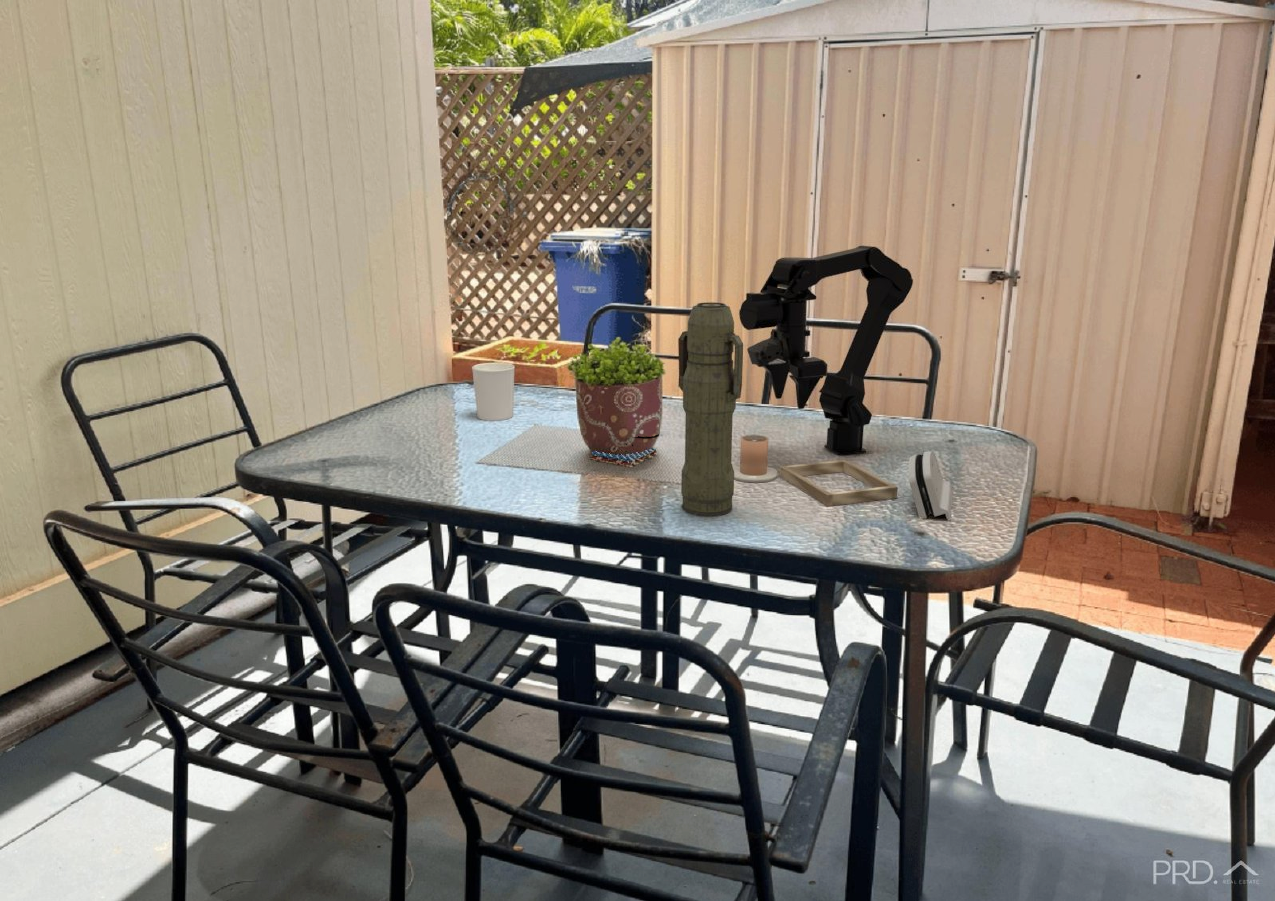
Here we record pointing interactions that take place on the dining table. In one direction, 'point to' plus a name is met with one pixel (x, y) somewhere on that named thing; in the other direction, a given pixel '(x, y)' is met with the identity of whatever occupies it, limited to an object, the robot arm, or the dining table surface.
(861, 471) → the wooden frame
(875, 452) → the dining table surface
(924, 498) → the light grey slab casing
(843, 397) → the robot arm
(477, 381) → the light grey cup
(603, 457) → the woven mat
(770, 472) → the cream saucer
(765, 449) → the terracotta pot
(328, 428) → the dining table surface
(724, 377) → the thermos
